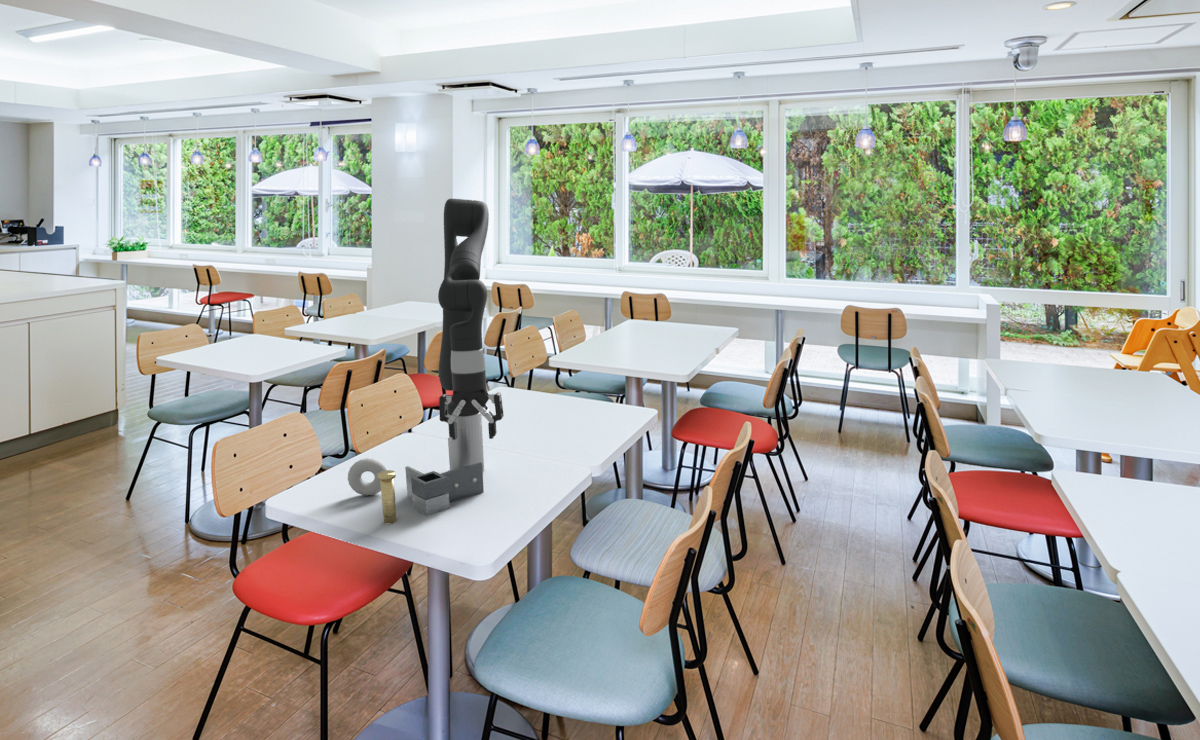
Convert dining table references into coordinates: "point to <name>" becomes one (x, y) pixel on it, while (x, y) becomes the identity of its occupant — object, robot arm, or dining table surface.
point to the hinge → (443, 487)
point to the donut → (359, 469)
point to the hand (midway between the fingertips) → (473, 438)
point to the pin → (388, 495)
